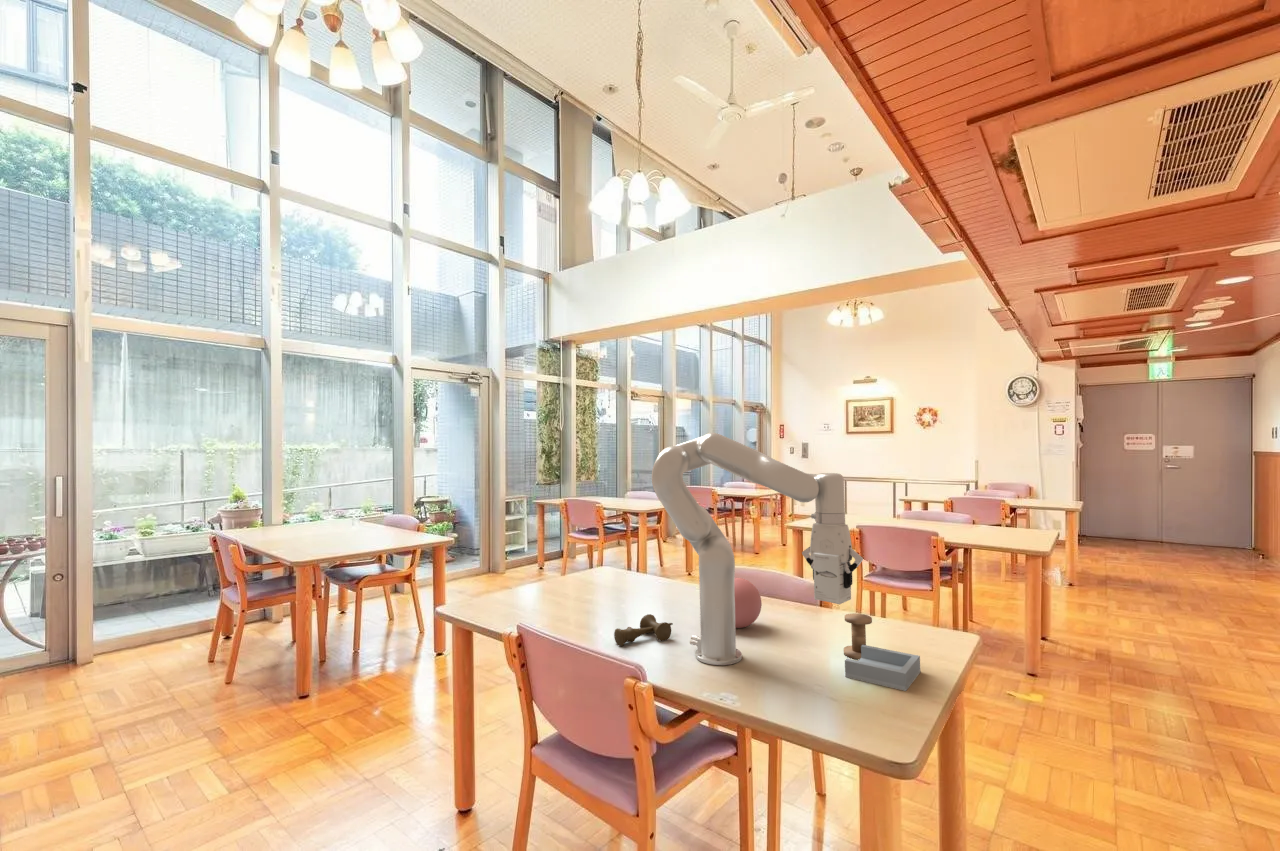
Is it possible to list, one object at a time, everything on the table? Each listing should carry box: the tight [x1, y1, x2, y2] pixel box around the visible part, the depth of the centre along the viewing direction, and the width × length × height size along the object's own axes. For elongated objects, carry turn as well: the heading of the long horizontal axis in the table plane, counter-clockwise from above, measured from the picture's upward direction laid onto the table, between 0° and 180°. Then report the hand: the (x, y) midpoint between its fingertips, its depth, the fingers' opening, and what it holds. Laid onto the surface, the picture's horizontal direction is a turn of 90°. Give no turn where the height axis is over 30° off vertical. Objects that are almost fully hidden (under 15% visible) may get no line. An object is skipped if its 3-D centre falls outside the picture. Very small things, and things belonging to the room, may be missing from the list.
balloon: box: [734, 577, 763, 629], centre depth 184 cm, size 15×20×15 cm
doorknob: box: [843, 612, 873, 660], centre depth 156 cm, size 8×8×10 cm
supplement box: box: [813, 553, 852, 605], centre depth 153 cm, size 7×7×13 cm
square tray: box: [844, 644, 921, 692], centre depth 142 cm, size 14×14×4 cm
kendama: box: [613, 613, 673, 647], centre depth 172 cm, size 6×10×20 cm
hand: (832, 584), depth 153 cm, fingers closed on supplement box, 7 cm apart
